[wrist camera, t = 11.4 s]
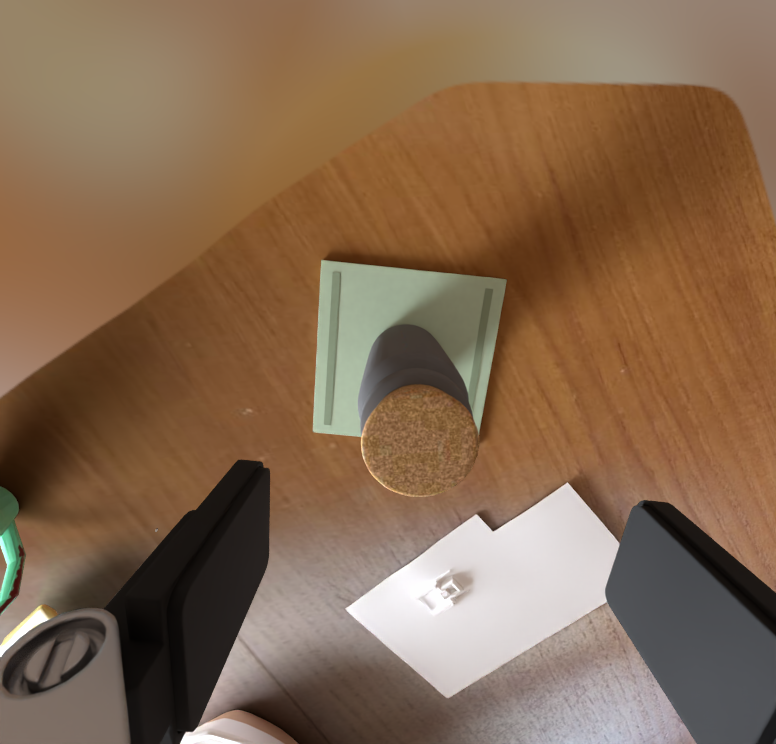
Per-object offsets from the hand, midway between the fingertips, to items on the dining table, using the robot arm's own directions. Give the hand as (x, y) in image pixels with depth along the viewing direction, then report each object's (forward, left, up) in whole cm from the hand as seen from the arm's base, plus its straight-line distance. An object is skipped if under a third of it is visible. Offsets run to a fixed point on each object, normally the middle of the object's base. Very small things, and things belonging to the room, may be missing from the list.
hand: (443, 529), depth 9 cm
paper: (+22, +11, -21) cm, 32 cm away
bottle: (0, 0, -20) cm, 20 cm away
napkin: (0, 0, -20) cm, 20 cm away
